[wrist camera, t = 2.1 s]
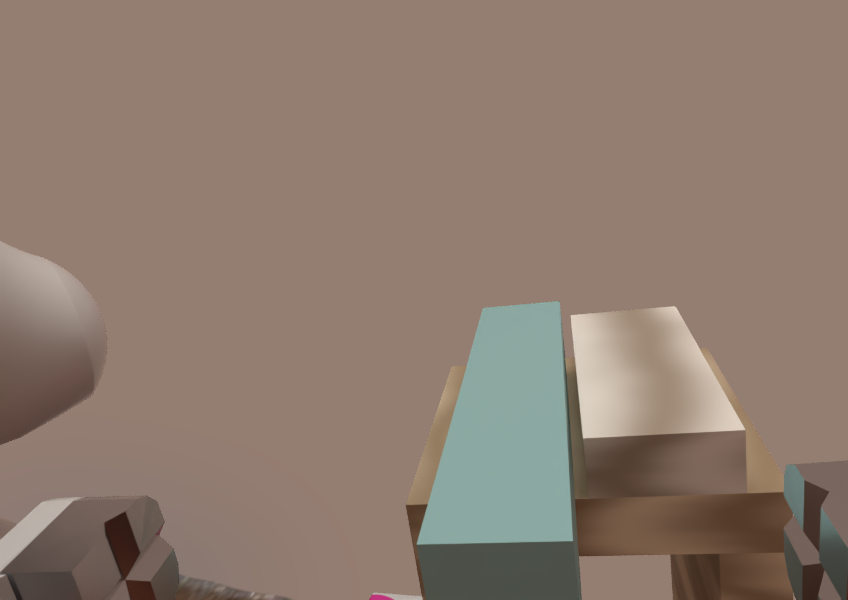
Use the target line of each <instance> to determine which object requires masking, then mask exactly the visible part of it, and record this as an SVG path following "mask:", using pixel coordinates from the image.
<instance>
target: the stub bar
mask: <svg viewBox="0 0 848 600" xmlns="http://www.w3.org/2000/svg"><path fill="white" fill-rule="evenodd" d="M417 550H418V556H419V562H420V567H421V573H422V579H423V584H424V590H425V596H426V600H582V599H581V582H580V567H579V552H578V537H577V522H576V507H575V492H574V477H573V462H572V447H571V432H570V417H569V402H568V387H567V372H566V362H565V351H564V341H563V331H562V322H561V311H560V301H556V302H545V303H534V304H523V305H512V306H501V307H490V308H483V310H482V314H481V318H480V322H479V325H478V328H477V332H476V335H475V339H474V342H473V346H472V349H471V353H470V357H469V360H468V364H467V367H466V371H465V374H464V378H463V381H462V385H461V388H460V392H459V395H458V399H457V403H456V406H455V410H454V413H453V417H452V420H451V424H450V427H449V431H448V435H447V438H446V442H445V445H444V449H443V452H442V456H441V459H440V463H439V466H438V470H437V474H436V477H435V481H434V484H433V488H432V491H431V495H430V498H429V502H428V506H427V509H426V513H425V516H424V520H423V523H422V527H421V530H420V534H419V537H418V541H417Z"/></svg>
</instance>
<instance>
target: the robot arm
mask: <svg viewBox="0 0 848 600" xmlns="http://www.w3.org/2000/svg"><path fill="white" fill-rule="evenodd" d="M106 355H107V336H106V330H105V325H104V321H103V318H102V315H101V313H100V310H99V308H98V306H97V304H96V303H95V301H94V299H93V297H92V296H91V295H90V293H89V292H88V291H87V289H86V288H85V287H84V286H83V285H82V284H81V283H80V282H79V281H78V280H77V279H76V278H75V277H74V276H73V275H71V274H70V273H69V272H68V271H66V270H65V269H63V268H62V267H60V266H58V265H57V264H55V263H53V262H51V261H49V260H47V259H45V258H42V257H39V256H36V255H32V254H29V253H26V252H24V251H21V250H18V249H16V248H14V247H12V246H10V245H7V244H5V243H3V242H2V241H0V445H1V444H4V443H7V442H9V441H12V440H14V439H17V438H20V437H22V436H24V435H26V434H27V433H29V432H31V431H33V430H35V429H37V428H38V427H40V426H42V425H44V424H45V423H47V422H49V421H51V420H52V419H54V418H56V417H58V416H59V415H61V414H63V413H64V412H66V411H68V410H69V409H71V408H73V407H74V406H76V405H78V404H79V403H81V402H83V401H84V400H86V399H87V398H89V397H91V395H92V394H93V393H94V391H95V389H96V387H97V385H98V383H99V380H100V378H101V376H102V373H103V369H104V366H105V362H106ZM784 497H785V499H786V501H787V503H788V505H789V506H790V508H791V510H792V512H793V514H794V516H793V517H792V518H791V520H790V521H789V522H788V523H787V524H786V525H785V527H784V528H783V532H784V555H785V561H786V567H787V573H788V578H789V581H790V584H791V587H792V590H793V593H794V596H795V598H796V600H848V461H833V462H819V463H805V464H791V465H787V466H786V471H785V475H784ZM164 522H165V521H164V519H163V516H162V513H161V510H160V508H159V505H158V503H157V501H156V500H154V499H152V498H150V497H148V496H113V497H85V498H81V497H74V498H60V499H52V500H48V501H44V502H42V503H41V504H39V505H38V506H37V507H36V508H35V509H34V510H33V511H32V512H31V513H29V514H28V515H27V516H26V517H25V518H24V519H23V520H22V521H21V522H19V523H18V524H15V523H13V522H11V521H9V520H6V519H4V518H1V517H0V600H175V596H176V592H177V588H178V584H179V569H178V561H177V558H176V555H175V552H174V549H173V548H172V547H171V546H170V545H169V544H168V543H167V542H166V541H165V540H164V539H163V538H161V537H160V536H159V534H160V532H161V529H162V527H163V524H164Z"/></svg>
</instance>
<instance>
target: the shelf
mask: <svg viewBox="0 0 848 600" xmlns="http://www.w3.org/2000/svg"><path fill="white" fill-rule="evenodd" d="M571 324H572V334H573V343H574V344H573V345H574V355H575V357H574V358H565V362H566V372H567V387H568V402H569V417H570V432H571V447H572V462H573V477H574V492H575V507H576V522H577V537H578V552H579V556H615V555H616V556H617V555H618V556H619V555H671V574H672V590H673V600H793V590H792V587H791V584H790V581H789V578H788V573H787V567H786V561H785V555H784V532H783V528H784V527H785V525H786V524H787V523H788V522H789V521H790V520H791V518H792V517H793V512H792V510H791V508H790V506H789V505H788V503H787V501H786V499H785V497H784V476H783V475H782V473H781V471H780V470H779V468H778V466H777V465H776V463H775V461H774V459H773V458H772V456H771V454H770V453H769V451H768V449H767V448H766V446H765V445H764V443H763V441H762V439H761V438H760V437H759V435H758V433H757V431H756V429H755V428H754V426H753V424H752V423H751V421H750V420H749V418H748V416H747V414H746V413H745V411H744V409H743V408H742V406H741V404H740V403H739V401H738V399H737V398H736V396H735V394H734V393H733V391H732V389H731V388H730V386H729V384H728V383H727V381H726V379H725V377H724V376H723V374H722V372H721V371H720V369H719V368H718V366H717V364H716V362H715V361H714V359H713V357H712V356H711V354H710V352H709V351H708V349H707V348H699V347H698V345H697V344H696V342H695V340H694V338H693V337H692V335H691V333H690V331H689V329H688V328H687V326H686V324H685V323H684V321H683V319H682V317H681V315H680V314H679V312H678V310H677V308H676V307H675V306H673V307H662V308H650V309H639V310H628V311H615V312H605V313H592V314H581V315H571ZM466 367H467V366H454V367H452V368H451V371H450V374H449V377H448V380H447V383H446V386H445V389H444V392H443V395H442V398H441V401H440V404H439V407H438V410H437V413H436V416H435V419H434V422H433V425H432V428H431V431H430V434H429V437H428V440H427V443H426V446H425V449H424V452H423V455H422V458H421V461H420V464H419V467H418V470H417V473H416V476H415V479H414V482H413V485H412V488H411V491H410V494H409V497H408V500H407V503H406V508H407V514H408V520H409V526H410V531H411V537H412V542H413V548H414V554H415V559H416V565H417V571H418V576H419V582H420V588H421V593H422V599H423V600H426V596H425V590H424V584H423V579H422V573H421V567H420V562H419V556H418V550H417V541H418V537H419V534H420V530H421V527H422V523H423V520H424V516H425V513H426V509H427V506H428V502H429V498H430V495H431V491H432V488H433V484H434V481H435V477H436V474H437V470H438V466H439V463H440V459H441V456H442V452H443V449H444V445H445V442H446V438H447V435H448V431H449V427H450V424H451V420H452V417H453V413H454V410H455V406H456V403H457V399H458V395H459V392H460V388H461V385H462V381H463V378H464V374H465V371H466Z"/></svg>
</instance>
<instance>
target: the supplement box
mask: <svg viewBox="0 0 848 600" xmlns="http://www.w3.org/2000/svg"><path fill="white" fill-rule="evenodd" d="M369 600H423V599H422V596H408V595H396V594H385V593H373V594H372V596H371V598H370V599H369Z"/></svg>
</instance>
